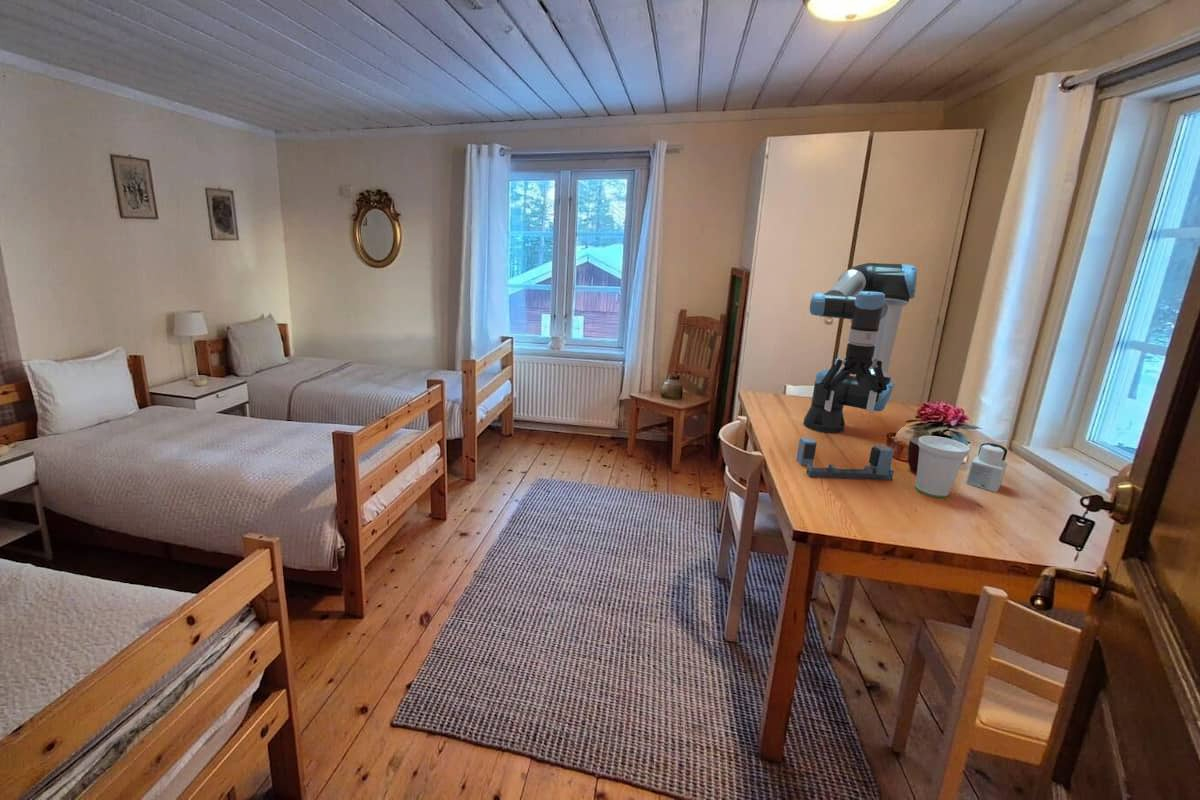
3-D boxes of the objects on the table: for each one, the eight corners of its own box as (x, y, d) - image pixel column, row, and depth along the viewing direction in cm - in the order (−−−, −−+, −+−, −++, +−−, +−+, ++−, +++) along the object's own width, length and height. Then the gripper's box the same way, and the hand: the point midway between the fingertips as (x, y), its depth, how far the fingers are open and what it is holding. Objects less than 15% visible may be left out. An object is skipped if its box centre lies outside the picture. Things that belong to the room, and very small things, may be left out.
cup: (912, 496, 146) (924, 447, 142) (903, 478, 157) (914, 433, 153) (962, 504, 142) (976, 454, 138) (949, 486, 153) (962, 439, 149)
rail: (805, 472, 159) (810, 442, 156) (885, 475, 159) (892, 446, 156) (810, 477, 155) (815, 447, 152) (892, 481, 155) (899, 451, 153)
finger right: (808, 460, 169) (811, 437, 166) (813, 466, 164) (817, 443, 162) (796, 459, 169) (799, 437, 166) (801, 465, 164) (805, 442, 162)
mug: (936, 481, 156) (944, 452, 153) (907, 476, 159) (914, 447, 156) (929, 469, 166) (936, 440, 163) (901, 464, 168) (908, 436, 165)
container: (971, 476, 161) (981, 438, 157) (1001, 485, 156) (1012, 446, 152) (965, 483, 156) (976, 444, 152) (996, 492, 150) (1008, 452, 147)
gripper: (827, 344, 148) (815, 413, 154) (909, 347, 149) (894, 415, 155) (815, 340, 155) (804, 406, 161) (894, 343, 156) (880, 408, 162)
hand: (848, 410), depth 158 cm, fingers open, 13 cm apart
